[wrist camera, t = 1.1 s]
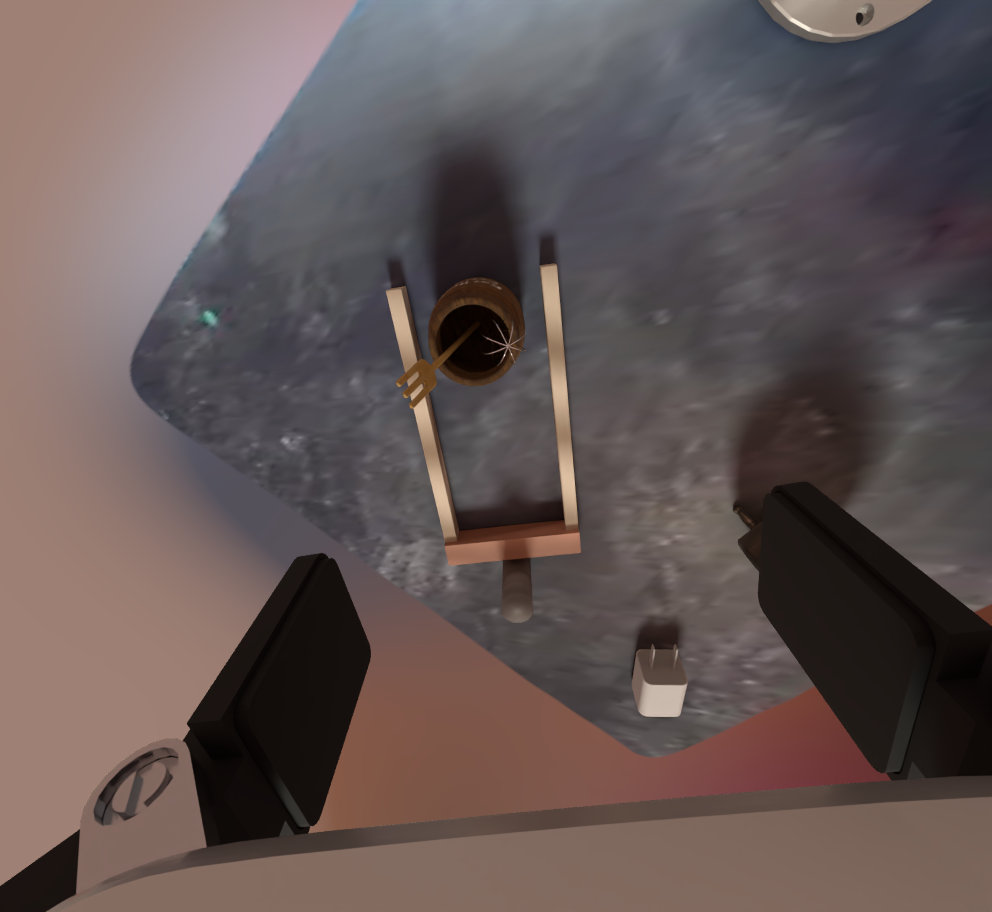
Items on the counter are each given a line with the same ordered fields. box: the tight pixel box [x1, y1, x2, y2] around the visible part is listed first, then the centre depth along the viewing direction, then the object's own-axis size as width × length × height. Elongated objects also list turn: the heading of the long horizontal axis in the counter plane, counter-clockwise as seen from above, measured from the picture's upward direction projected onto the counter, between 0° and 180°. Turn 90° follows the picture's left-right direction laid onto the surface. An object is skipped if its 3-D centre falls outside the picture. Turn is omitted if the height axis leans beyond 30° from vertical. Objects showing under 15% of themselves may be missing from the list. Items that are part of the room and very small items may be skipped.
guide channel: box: [386, 263, 581, 623], centre depth 33 cm, size 25×11×6 cm, turn 8°
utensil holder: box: [396, 277, 526, 409], centre depth 27 cm, size 6×6×12 cm
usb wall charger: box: [632, 644, 688, 717], centre depth 44 cm, size 4×7×4 cm, turn 1°
